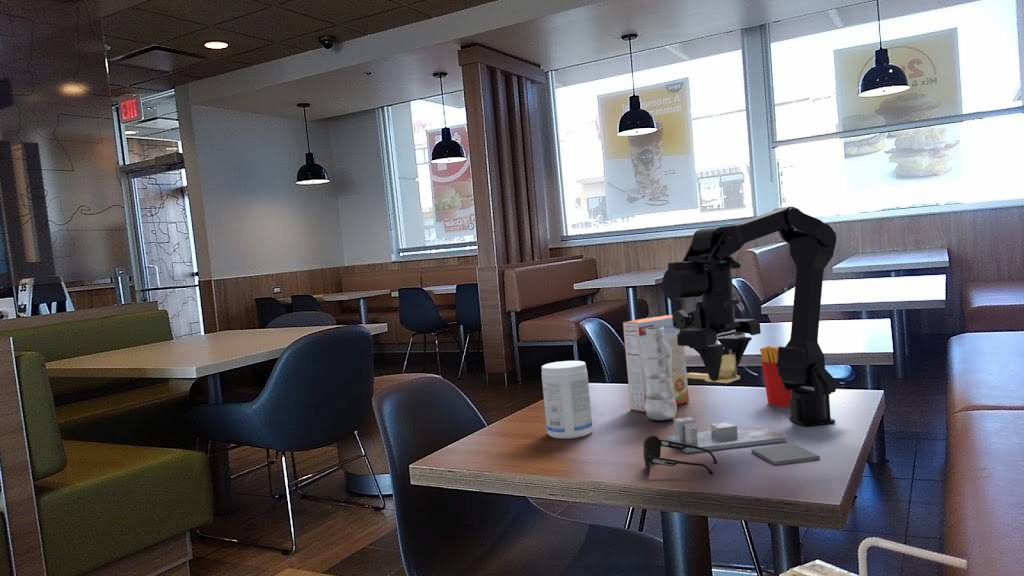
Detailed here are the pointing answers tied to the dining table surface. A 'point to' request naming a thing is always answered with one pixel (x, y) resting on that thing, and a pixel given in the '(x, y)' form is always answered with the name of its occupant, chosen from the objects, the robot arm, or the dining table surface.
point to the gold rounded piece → (722, 369)
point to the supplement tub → (566, 399)
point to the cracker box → (635, 368)
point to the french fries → (774, 378)
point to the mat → (785, 454)
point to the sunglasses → (653, 456)
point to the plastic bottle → (658, 376)
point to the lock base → (736, 442)
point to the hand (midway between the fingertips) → (722, 378)
